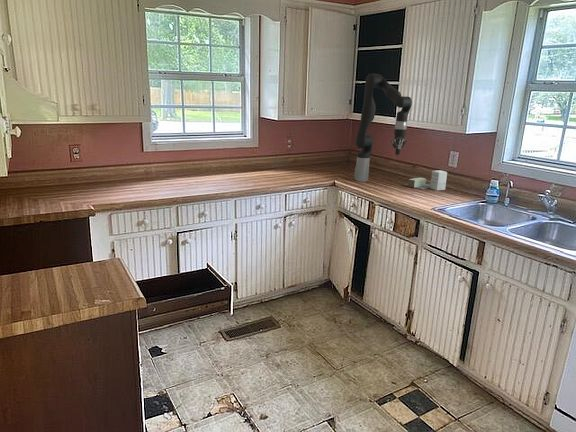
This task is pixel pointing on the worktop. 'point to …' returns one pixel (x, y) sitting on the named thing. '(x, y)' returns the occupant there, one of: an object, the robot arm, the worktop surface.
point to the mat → (421, 186)
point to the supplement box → (438, 180)
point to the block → (416, 182)
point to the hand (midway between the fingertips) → (397, 154)
